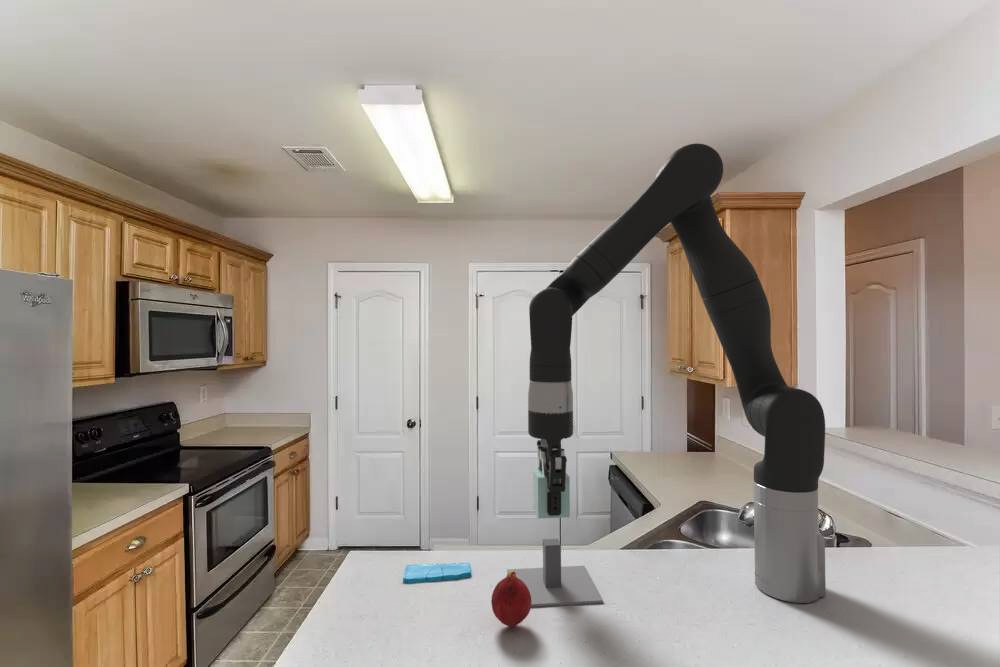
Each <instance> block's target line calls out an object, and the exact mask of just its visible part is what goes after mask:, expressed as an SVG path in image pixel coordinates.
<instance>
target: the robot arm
mask: <svg viewBox="0 0 1000 667" xmlns="http://www.w3.org/2000/svg"><path fill="white" fill-rule="evenodd" d="M723 174H724V163H723V159H722V157H721V154H719V152H718V151H717V150H715V149H714V148H713V147H711V146H710V145H707V144H704V143H690V144H687V145H684V146H682V147H680V148H678V149H677V150H675V151H674V152H672V153H671V155H670V156H669V157H668V158H667V159H666V160H665V161H664V162H663V164H662V165H661V167H660V168H659V169H658V171H657V173H656V175H655V179H654V180H653V182H652V183H651V184H650V186H648V188H646V190H645V191H644V192H643V193H642V194H641V195H640V196H639V198H637V200H636V201H635V202H634V203H632V205H630V206H629V207H628V209H626V210H625V211H624V212H623V213H622V214H620V216H619V217H617V218H616V219H615V220H614V221H612V222H611V223H610V224H609V225H608V226H607V227H606V228H605V229H604V230H602V231H601V232H600V233H599V234H598V235H597V236H596V237H595V238H593V239H592V240H591V241H590V242H589V243H588V244H587V245H586V246H585V247H584V248H583V249H582V250H581V251H580V252H579V253H578V254H577V255H576V256H574V258H573V259H571V261H570V262H569V263H568V264H567V266H566V267H565V268H564V270H563V272H561V273H560V274H558V276H557V277H555V278H554V280H552V281H551V283H549V284H548V285H547V286H546V287H545V288H542V289H540V290H539V291H537V292H536V293H535V294H534V295H533V296H532V298H531V300H530V303H529V306H528V312H529V334H530V353H529V385H528V392H527V400H528V401H527V411H528V412H527V419H528V420H527V427H528V429H527V430H528V431H527V432H528V435H529V436H530V437H532V438H534V439H537V441H536V446H537V449H536V452H537V467H538V468H537V469H539V470H542V473H543V477H545V478H546V490H547V513H548V515H549V516H558V515H560V514H561V492H565V478H566V473H567V461H568V460H567V456H566V454H565V449H564V448H562V443H561V441H562V440H564V439H569V438H571V437H572V436H574V392H573V384H572V356H571V342H572V332H573V331H572V330H573V317H574V315H575V314H576V313H578V311H579V310H580V309H581V308H582V307H583V306H584V305H585V304H586V303H587V301H589V299H591V298H592V297H594V296H596V294H598V293H599V292H600V291H602V290H603V289H604V288H605V287H606V286H607V285H608V284H609V283H611V281H612V280H613V279H614V278H615V277H616V276H617V275H619V274H620V273H621V272H622V271H623V270H624V269H625V268H626V267H627V265H629V264H630V263H631V261H633V259H634V258H635V257H636V256H637V255H638V254H639V253H640V252H641V251H642V250H643V249H644V248H646V246H647V245H648V244H649V243H650V242H651V241H652V240H653V238H655V237H656V236H657V235H658V234H659V233H660V232H662V230H663V229H664V228H665V227H666V226H667V225H669V224H671V227H672V228H673V229H674V231H675V233H676V235H677V238H678V239H679V242H680V244H681V246H682V249H683V252H684V255H685V257H686V260H687V262H688V266H689V269H690V270H691V274H692V276H693V278H694V280H695V284H696V287H697V289H698V292H699V294H700V297H701V299H702V302H703V306H704V308H705V310H706V312H707V314H708V317H709V319H710V321H711V323H712V324H711V325H712V327H714V330H715V333H716V335H717V338H718V340H719V343H720V345H721V347H722V350H723V351H724V354H725V356H726V358H727V361H728V364H729V365H730V367H731V368H730V369H731V371H732V374H733V377H734V380H735V384H736V387H737V391H738V394H739V398H740V402H741V405H742V409H743V412H744V415H745V417H746V420H747V423H748V424H749V425H750V427H751V428H752V429H753V430H754V431H755V432H756V433H757V434H759V435H760V436H762V437H764V455H763V458H762V460H760V461H757V462H756V463H755V464H754V467H753V513H754V514H753V519H754V522H753V524H754V525H753V526H754V527H753V528H754V530H753V532H754V536H753V537H754V581H755V582H754V584H755V586H756V588H758V590H760V591H761V592H762V593H764V594H766V595H767V596H770V597H773V598H775V599H778V600H781V601H785V602H790V603H797V604H806V603H808V604H809V603H814V602H816V601H818V600H819V598H821V597H823V598H824V597H826V596H827V595H826V591H827V588H826V585H827V584H826V538H825V536H824V534H821V533H820V532H819V531H820V529H819V528H820V527H819V526H820V525H819V524H820V523H819V522H820V519H819V517H820V516H819V478H820V476H821V474H822V473H823V469H824V465H825V451H826V449H825V446H826V418H825V412H824V409H823V406H822V404H821V402H820V401H819V399H818V398H817V397H816V396H815V395H814V394H812V393H810V392H809V391H806V390H804V389H800V388H798V387H796V388H795V387H791V386H788V384H787V383H786V381H785V379H784V377H783V375H782V373H781V371H780V368H779V366H778V363H777V361H776V360H775V356H774V354H773V350H772V349H773V348H772V342H771V341H772V338H771V336H772V335H771V333H772V332H771V331H772V330H771V329H772V322H771V321H772V319H771V318H772V316H771V310H770V304H769V300H768V297H767V295H766V293H765V290H764V287H763V285H762V283H761V280H760V278H759V275H758V274H757V271H756V269H755V267H754V266H753V264H752V263H751V261H750V260H749V258H748V257H747V256H746V255H745V254H744V252H743V251H742V250H741V248H740V247H739V246H737V244H736V243H735V242H734V241H733V240H732V238H731V237H730V236H729V235H728V233H727V232H726V230H725V229H724V228H723V226H722V224H721V222H720V219H719V218H718V214H717V211H716V209H715V206H714V204H713V200H712V195H713V194H714V193H715V191H716V190H717V189H718V187H719V185H720V183H721V182H722V179H723ZM547 470H549V472H548V471H547ZM554 479H558V484H553V480H554Z"/></svg>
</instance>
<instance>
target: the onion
mask: <svg viewBox="0 0 1000 667" xmlns="http://www.w3.org/2000/svg"><path fill="white" fill-rule="evenodd" d="M490 601H491V608H492V612H493V614H494V616H495V618H496V619H498V621H499V622H500V623H501V624H502V625H504V626H507V627H509V628H514V627H516V626H517V625H519V624H521V623H522V622H523V621H524V620H526V618H527V617H528V615H529V614H530V611H531V608H532V607H531V602H532V601H531V595H530V592H529V589H528V587H527V586H526V584H525V583H524V582H523V581H522V580H520V579H519V578H517V577H516V572H515V571H513V570H511V571H509V572H508V573H507V575H506V577H504V578H503V579H501V580H500V581H499V582H497V583H496V585H495V587H494V588H493V591H492V594H491V600H490Z"/></svg>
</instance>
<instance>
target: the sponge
mask: <svg viewBox="0 0 1000 667" xmlns="http://www.w3.org/2000/svg"><path fill="white" fill-rule="evenodd" d="M404 569H405V570H404V572H403V573H404V574H403V577H402V583H403V584H405V583H406V584H408V583H409V585H411V584H419V583H420V584H421V583H427V582H428V583H430V582H431V583H432V582H433V583H434V582H441V581H450V580H452V581H453V580H461V579H465V578H469V577H470V578H471V577H472V568H471V563H470V562H458V563H455V562H454V563H453V562H452V563H444V562H443V563H435V564H434V563H427V564H426V563H424V564H423V563H422V564H406V567H405V568H404Z"/></svg>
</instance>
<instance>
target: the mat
mask: <svg viewBox="0 0 1000 667" xmlns="http://www.w3.org/2000/svg"><path fill="white" fill-rule="evenodd" d="M585 566H586V565H568V566H567V565H566V566H561V587H557V588H546V587H545V584H544V581H543V567H532V568H531V567H529V568H528V567H526V568H509V569H508V568H507V569H506V572H507V574H508V572H509V571H511V570H513V571H515V572H516V577H517V578H519V579H520V580H522V581H523V582H524V583H525V584H526V586H527V587H528V589H529V592H530V595H531V601H532V602H531V608H534V607H552V606H569V605H570V606H571V605H588V604H589V605H591V604H603V603H604V599H603V597H602V596H601V594H600V592H599V590H598V588H597V586H596V585H595V582H594V581H593V579H592V577H591V576H590V574H589V572H588V570H587V568H586V567H585Z"/></svg>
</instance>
